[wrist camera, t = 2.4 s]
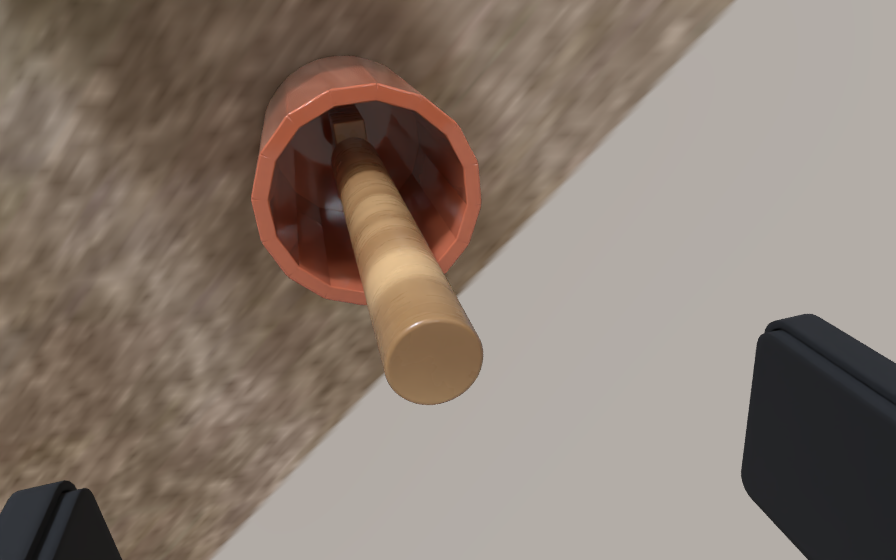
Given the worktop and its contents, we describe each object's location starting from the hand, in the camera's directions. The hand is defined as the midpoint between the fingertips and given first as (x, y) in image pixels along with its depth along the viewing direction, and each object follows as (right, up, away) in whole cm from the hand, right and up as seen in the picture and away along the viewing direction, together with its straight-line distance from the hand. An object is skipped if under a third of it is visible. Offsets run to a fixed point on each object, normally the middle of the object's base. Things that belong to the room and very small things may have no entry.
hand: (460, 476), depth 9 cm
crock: (-5, +9, +19) cm, 21 cm away
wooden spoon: (-4, +9, +18) cm, 21 cm away
